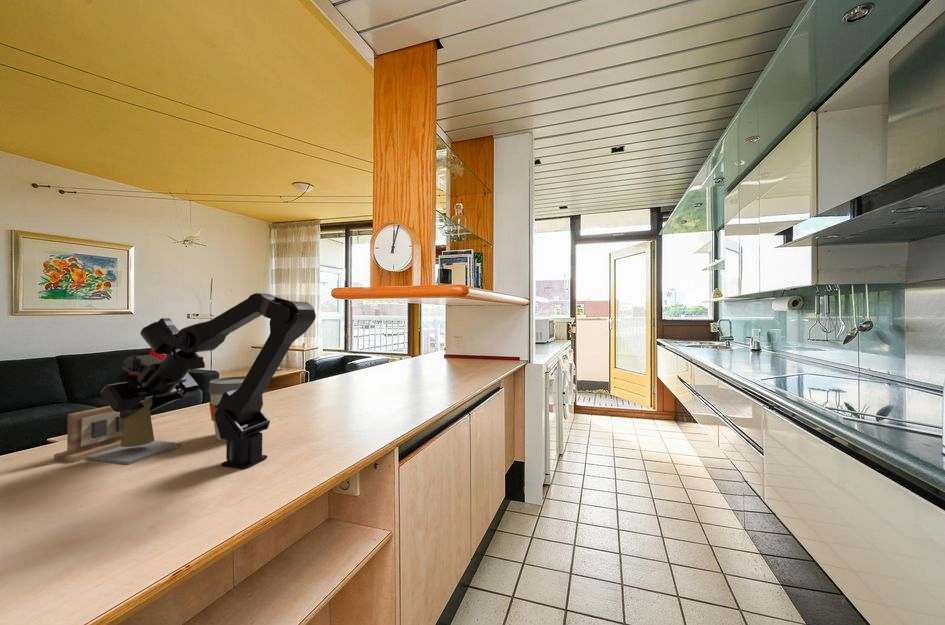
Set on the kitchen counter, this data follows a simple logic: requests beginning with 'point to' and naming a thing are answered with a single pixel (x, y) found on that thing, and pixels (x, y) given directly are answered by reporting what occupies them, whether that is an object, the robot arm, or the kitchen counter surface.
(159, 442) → the mat
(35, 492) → the kitchen counter surface
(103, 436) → the switch panel
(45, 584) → the kitchen counter surface
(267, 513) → the kitchen counter surface
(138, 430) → the cork
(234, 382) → the reusable coffee cup
